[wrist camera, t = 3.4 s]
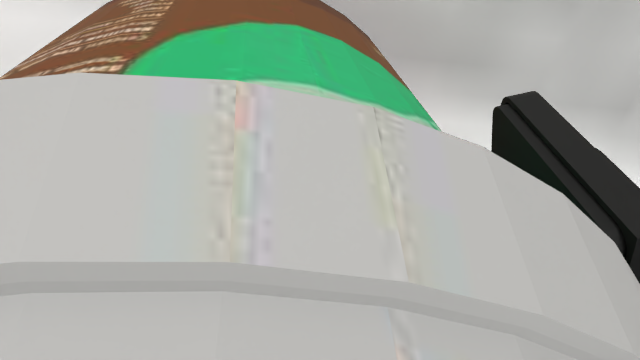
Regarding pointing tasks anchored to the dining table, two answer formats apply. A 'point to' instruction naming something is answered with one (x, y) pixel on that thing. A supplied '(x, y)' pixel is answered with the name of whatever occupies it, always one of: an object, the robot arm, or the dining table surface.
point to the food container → (275, 205)
